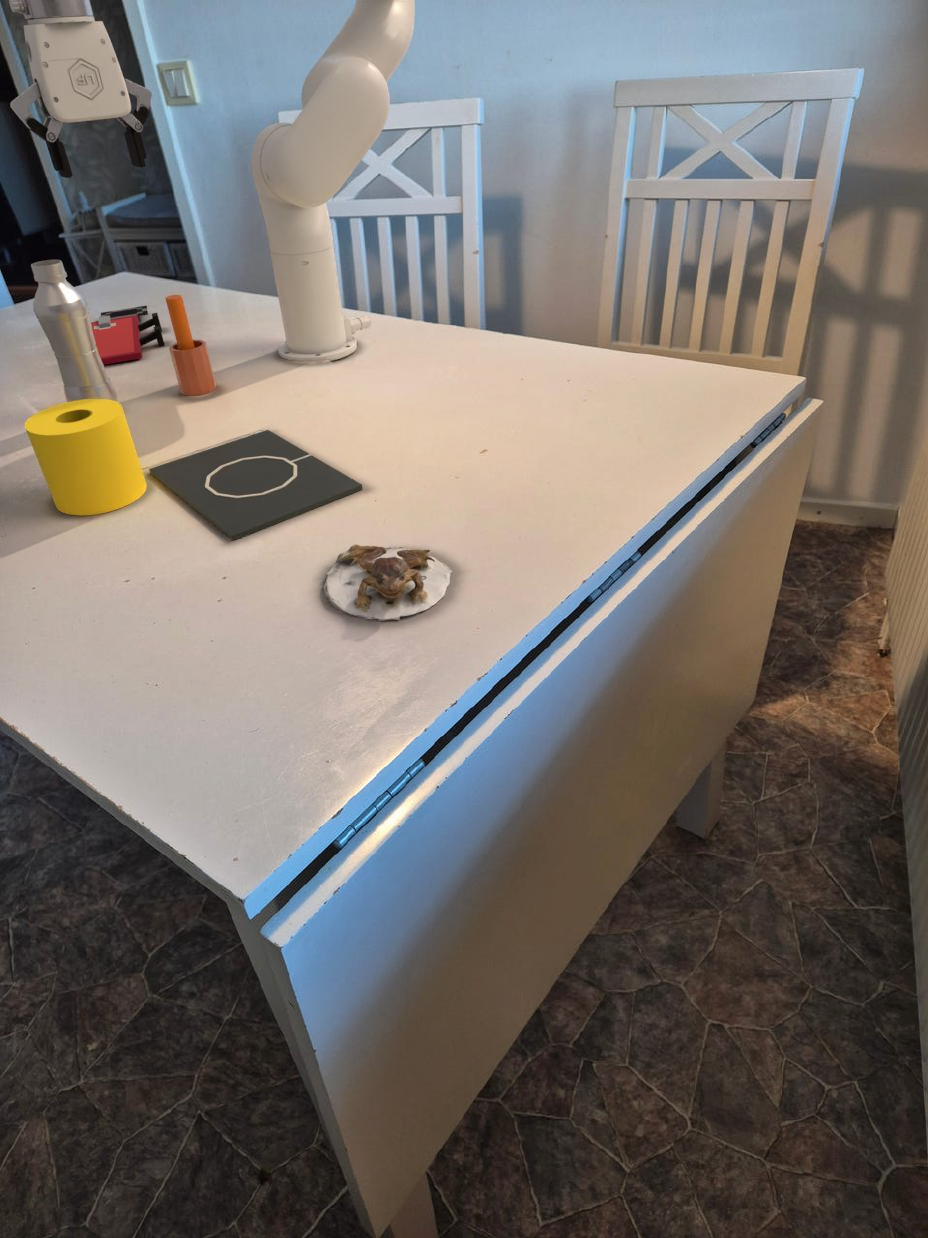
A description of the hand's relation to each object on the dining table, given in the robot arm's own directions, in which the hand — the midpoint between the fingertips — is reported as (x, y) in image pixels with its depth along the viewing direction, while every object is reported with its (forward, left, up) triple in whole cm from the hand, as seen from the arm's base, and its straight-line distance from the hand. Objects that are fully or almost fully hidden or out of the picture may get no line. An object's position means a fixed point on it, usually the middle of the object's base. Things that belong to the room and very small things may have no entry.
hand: (103, 171), depth 106 cm
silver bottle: (+12, +6, -28) cm, 32 cm away
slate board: (+6, +41, -28) cm, 50 cm away
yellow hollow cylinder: (+20, +31, -28) cm, 47 cm away
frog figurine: (+7, +70, -28) cm, 76 cm away
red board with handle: (-4, -28, -28) cm, 40 cm away
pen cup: (-2, +9, -28) cm, 30 cm away
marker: (-2, +9, -28) cm, 29 cm away
